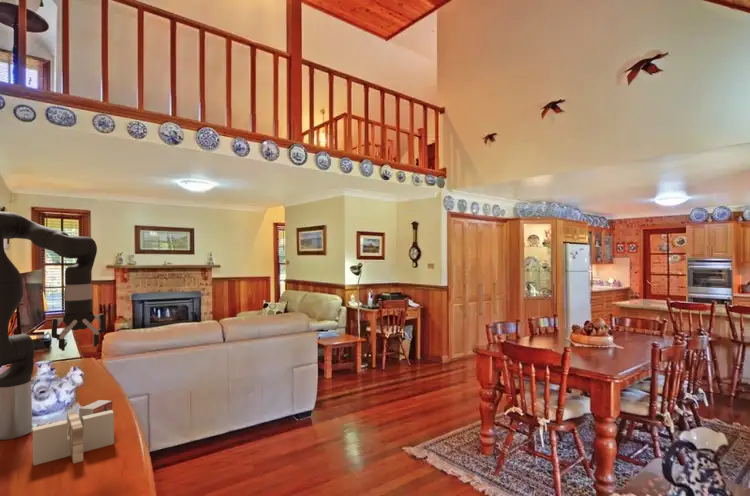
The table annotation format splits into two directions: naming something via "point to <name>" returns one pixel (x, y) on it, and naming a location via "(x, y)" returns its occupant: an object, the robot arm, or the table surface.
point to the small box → (95, 408)
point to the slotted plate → (75, 436)
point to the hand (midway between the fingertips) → (79, 348)
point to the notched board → (56, 443)
